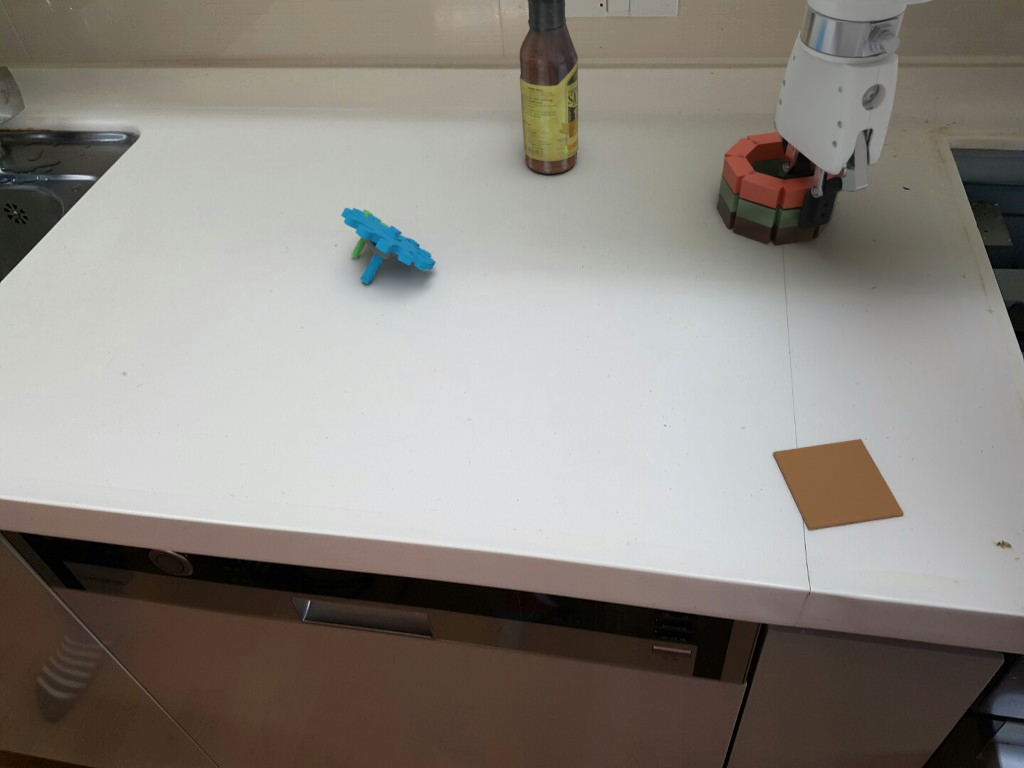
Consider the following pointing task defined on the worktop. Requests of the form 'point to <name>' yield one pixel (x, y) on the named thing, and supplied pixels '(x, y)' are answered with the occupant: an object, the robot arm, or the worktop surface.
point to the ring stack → (764, 212)
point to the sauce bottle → (549, 89)
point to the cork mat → (836, 484)
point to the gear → (383, 243)
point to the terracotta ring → (760, 184)
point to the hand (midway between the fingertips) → (802, 214)
